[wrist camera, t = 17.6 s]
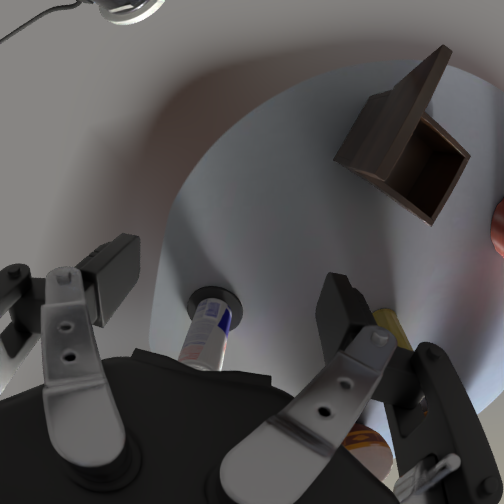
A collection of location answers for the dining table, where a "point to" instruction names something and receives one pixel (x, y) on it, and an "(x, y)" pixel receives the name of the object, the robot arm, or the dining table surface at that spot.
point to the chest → (412, 163)
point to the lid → (400, 117)
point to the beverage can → (207, 336)
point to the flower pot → (498, 228)
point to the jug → (369, 450)
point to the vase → (392, 326)
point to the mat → (218, 294)
